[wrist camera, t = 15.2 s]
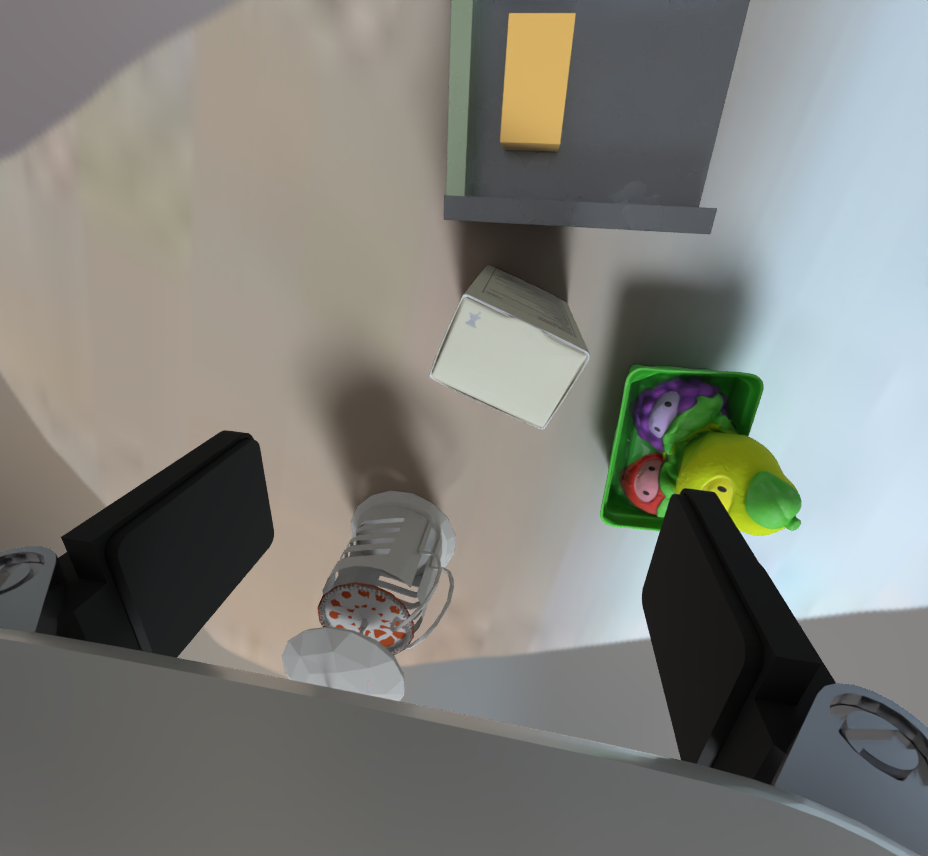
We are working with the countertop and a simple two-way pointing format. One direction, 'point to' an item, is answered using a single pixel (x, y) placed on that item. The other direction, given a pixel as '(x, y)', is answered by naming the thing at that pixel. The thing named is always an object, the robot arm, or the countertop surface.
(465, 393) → the skincare box
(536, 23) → the slider
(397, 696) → the french press
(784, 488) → the fruit basket
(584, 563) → the countertop surface
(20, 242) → the countertop surface
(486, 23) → the box
